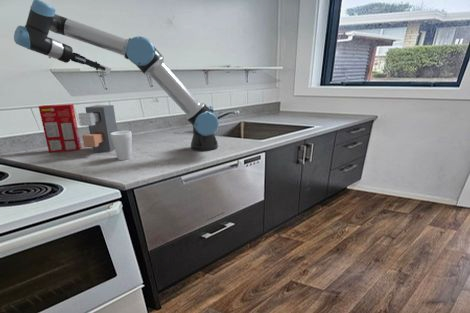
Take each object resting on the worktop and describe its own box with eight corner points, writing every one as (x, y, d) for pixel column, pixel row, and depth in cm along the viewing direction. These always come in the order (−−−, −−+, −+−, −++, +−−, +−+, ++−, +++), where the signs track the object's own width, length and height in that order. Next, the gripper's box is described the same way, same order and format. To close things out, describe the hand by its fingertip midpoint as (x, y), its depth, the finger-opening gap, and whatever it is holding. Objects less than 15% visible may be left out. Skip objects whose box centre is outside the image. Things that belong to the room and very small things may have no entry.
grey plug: (91, 125, 132) (89, 113, 131) (80, 125, 133) (78, 113, 131) (105, 121, 145) (104, 110, 143) (95, 121, 145) (93, 110, 143)
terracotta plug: (95, 147, 136) (93, 135, 134) (84, 147, 136) (82, 135, 134) (109, 141, 148) (107, 130, 146) (98, 141, 148) (96, 130, 147)
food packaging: (81, 147, 155) (73, 104, 147) (79, 150, 150) (70, 105, 143) (52, 150, 151) (42, 105, 144) (49, 152, 146) (38, 106, 139)
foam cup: (118, 155, 138) (114, 131, 134) (136, 155, 138) (133, 130, 134) (111, 161, 128) (107, 135, 125) (131, 160, 129) (127, 134, 125)
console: (110, 151, 146) (103, 107, 139) (93, 151, 147) (85, 107, 140) (119, 146, 155) (113, 105, 148) (103, 146, 156) (96, 105, 149)
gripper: (51, 57, 121) (101, 75, 140) (63, 61, 114) (114, 80, 133) (55, 41, 120) (105, 62, 139) (68, 44, 113) (118, 66, 132)
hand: (109, 71), depth 136 cm, fingers closed
